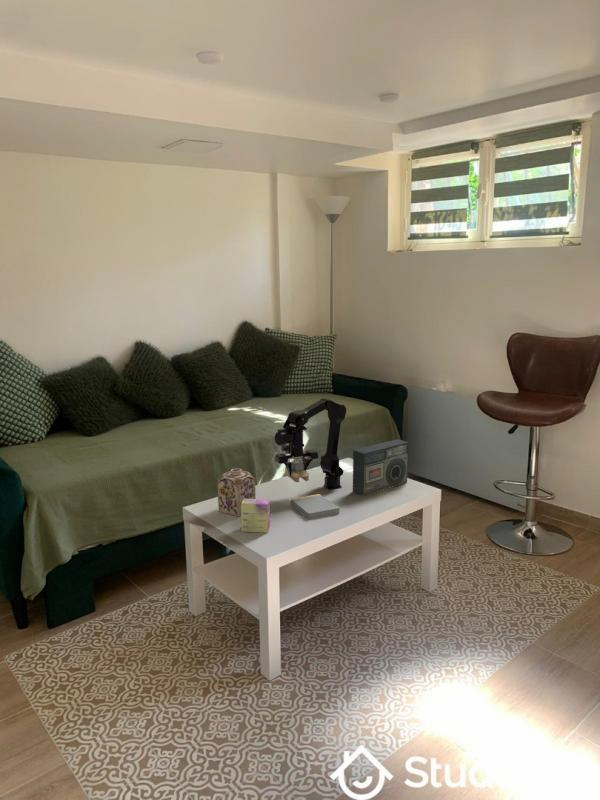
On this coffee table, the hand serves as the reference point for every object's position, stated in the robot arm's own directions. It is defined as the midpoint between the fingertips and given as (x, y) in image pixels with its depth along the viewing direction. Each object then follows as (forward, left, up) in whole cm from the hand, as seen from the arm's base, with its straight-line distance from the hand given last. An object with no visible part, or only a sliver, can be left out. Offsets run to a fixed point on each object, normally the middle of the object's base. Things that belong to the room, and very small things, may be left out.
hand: (296, 475), depth 267 cm
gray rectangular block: (0, 0, +2) cm, 2 cm away
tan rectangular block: (0, 0, -1) cm, 1 cm away
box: (+28, +23, -11) cm, 38 cm away
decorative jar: (+28, +1, -11) cm, 30 cm away
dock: (-2, +14, -11) cm, 18 cm away
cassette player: (-42, +3, -11) cm, 43 cm away
